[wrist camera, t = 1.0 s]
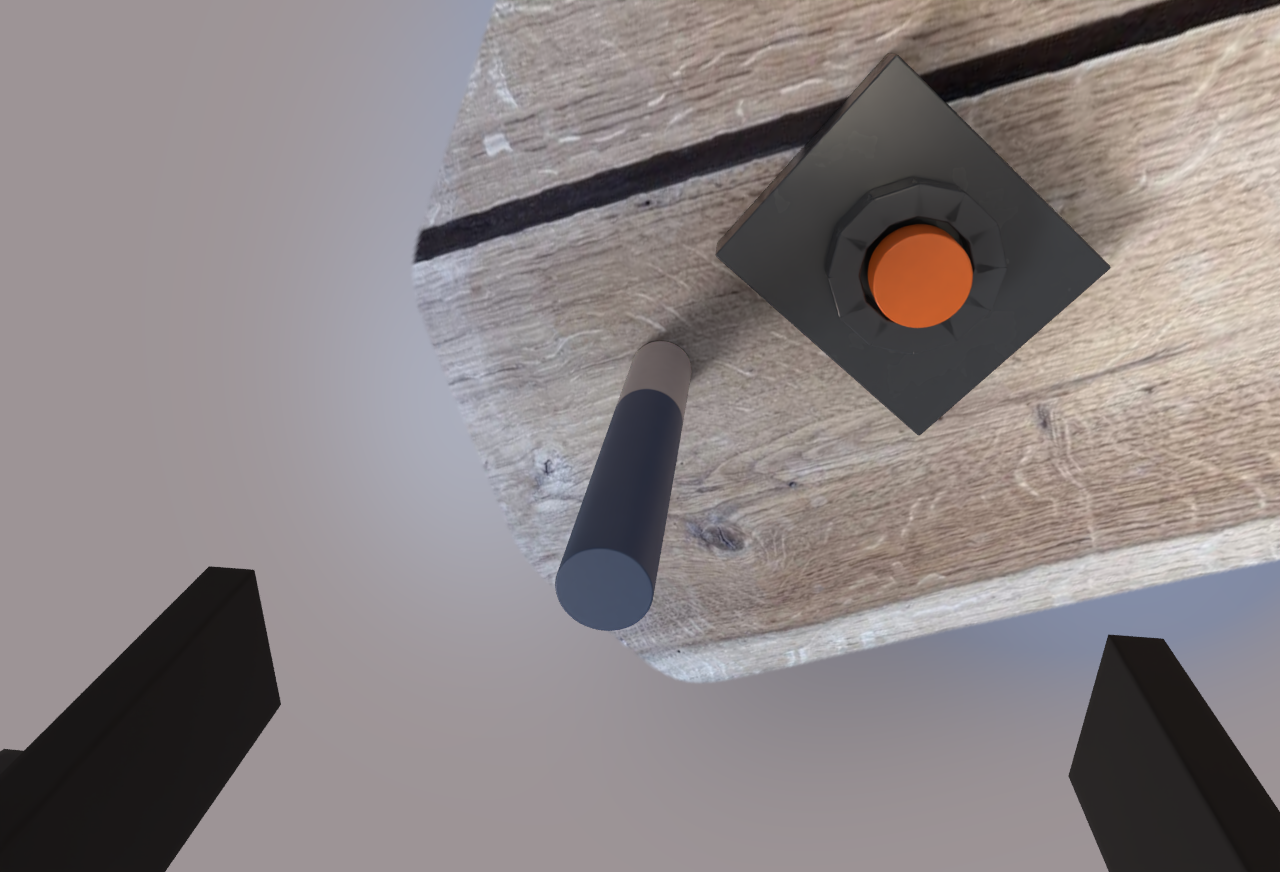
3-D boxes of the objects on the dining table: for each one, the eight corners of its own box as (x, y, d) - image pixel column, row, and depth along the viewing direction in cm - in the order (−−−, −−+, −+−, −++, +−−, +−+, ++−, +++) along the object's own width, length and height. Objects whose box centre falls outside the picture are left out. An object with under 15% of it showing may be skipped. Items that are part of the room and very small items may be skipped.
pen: (619, 371, 42) (535, 591, 26) (658, 328, 41) (596, 529, 24) (664, 408, 42) (610, 648, 26) (704, 367, 41) (673, 590, 25)
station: (716, 243, 39) (713, 266, 35) (888, 52, 35) (904, 55, 31) (911, 416, 41) (926, 454, 37) (1092, 254, 37) (1129, 279, 34)
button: (847, 273, 35) (852, 285, 34) (917, 203, 34) (925, 212, 32) (912, 333, 36) (919, 347, 34) (983, 266, 34) (994, 278, 33)
